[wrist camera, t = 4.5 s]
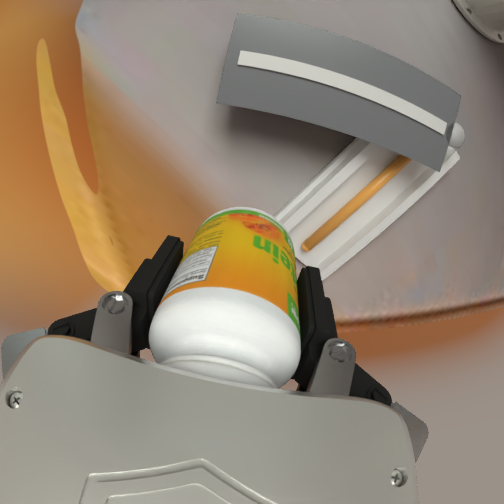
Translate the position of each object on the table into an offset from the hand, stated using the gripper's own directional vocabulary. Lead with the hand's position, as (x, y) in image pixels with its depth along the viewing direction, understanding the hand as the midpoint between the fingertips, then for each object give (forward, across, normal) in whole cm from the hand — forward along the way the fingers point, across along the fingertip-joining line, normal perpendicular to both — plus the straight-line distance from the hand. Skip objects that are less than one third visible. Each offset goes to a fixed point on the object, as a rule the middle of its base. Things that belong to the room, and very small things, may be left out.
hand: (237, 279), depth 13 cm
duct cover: (+14, -6, -11) cm, 19 cm away
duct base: (+17, -11, -2) cm, 20 cm away
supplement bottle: (+3, 0, 0) cm, 3 cm away
